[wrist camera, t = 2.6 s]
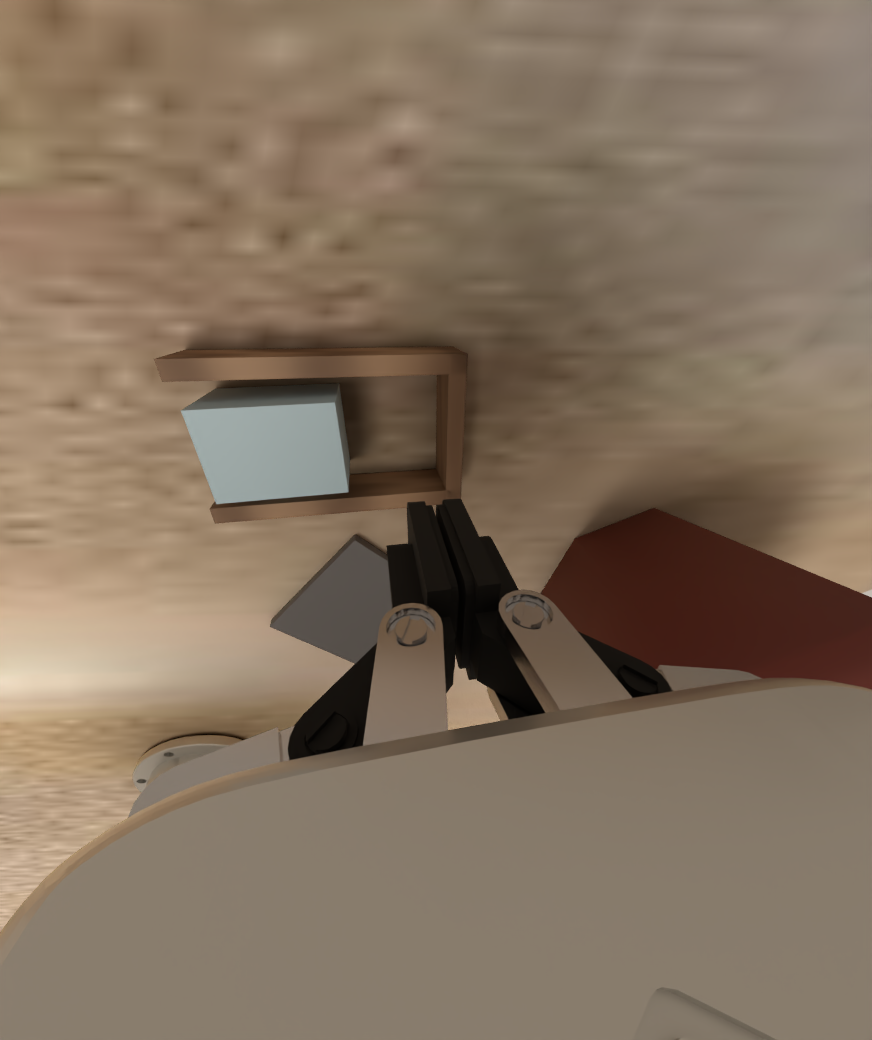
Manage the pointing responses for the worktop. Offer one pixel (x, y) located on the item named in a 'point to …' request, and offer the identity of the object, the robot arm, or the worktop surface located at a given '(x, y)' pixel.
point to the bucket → (710, 603)
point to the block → (271, 441)
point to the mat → (341, 603)
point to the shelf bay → (345, 362)
